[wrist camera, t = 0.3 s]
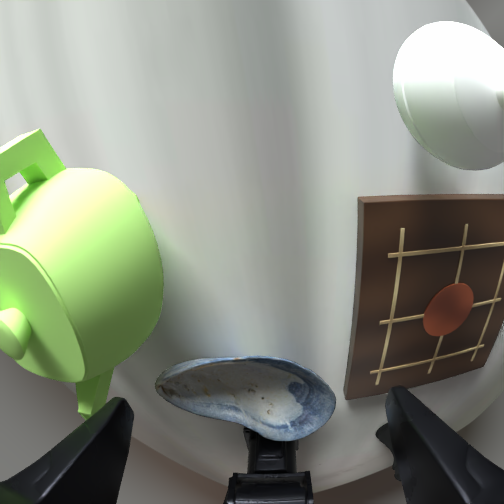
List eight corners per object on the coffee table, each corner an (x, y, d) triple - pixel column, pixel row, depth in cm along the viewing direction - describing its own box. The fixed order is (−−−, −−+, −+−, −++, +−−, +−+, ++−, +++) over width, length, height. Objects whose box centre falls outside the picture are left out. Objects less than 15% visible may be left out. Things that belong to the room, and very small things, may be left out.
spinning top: (462, 122, 17) (584, 146, 6) (392, 171, 19) (506, 231, 8) (410, 34, 14) (520, -12, 3) (331, 78, 16) (416, 27, 6)
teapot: (196, 346, 26) (163, 468, 14) (78, 337, 27) (20, 425, 15) (158, 106, 18) (29, 100, 6) (23, 144, 19) (-92, 182, 7)
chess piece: (400, 415, 30) (419, 479, 21) (409, 425, 31) (427, 483, 22) (370, 431, 32) (384, 494, 22) (382, 440, 33) (396, 497, 24)
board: (478, 358, 26) (484, 367, 25) (343, 389, 28) (345, 401, 26) (523, 194, 18) (534, 199, 17) (357, 196, 20) (364, 202, 18)
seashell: (196, 414, 31) (188, 449, 26) (161, 334, 26) (144, 373, 21) (330, 407, 29) (336, 443, 25) (334, 321, 24) (346, 363, 20)
